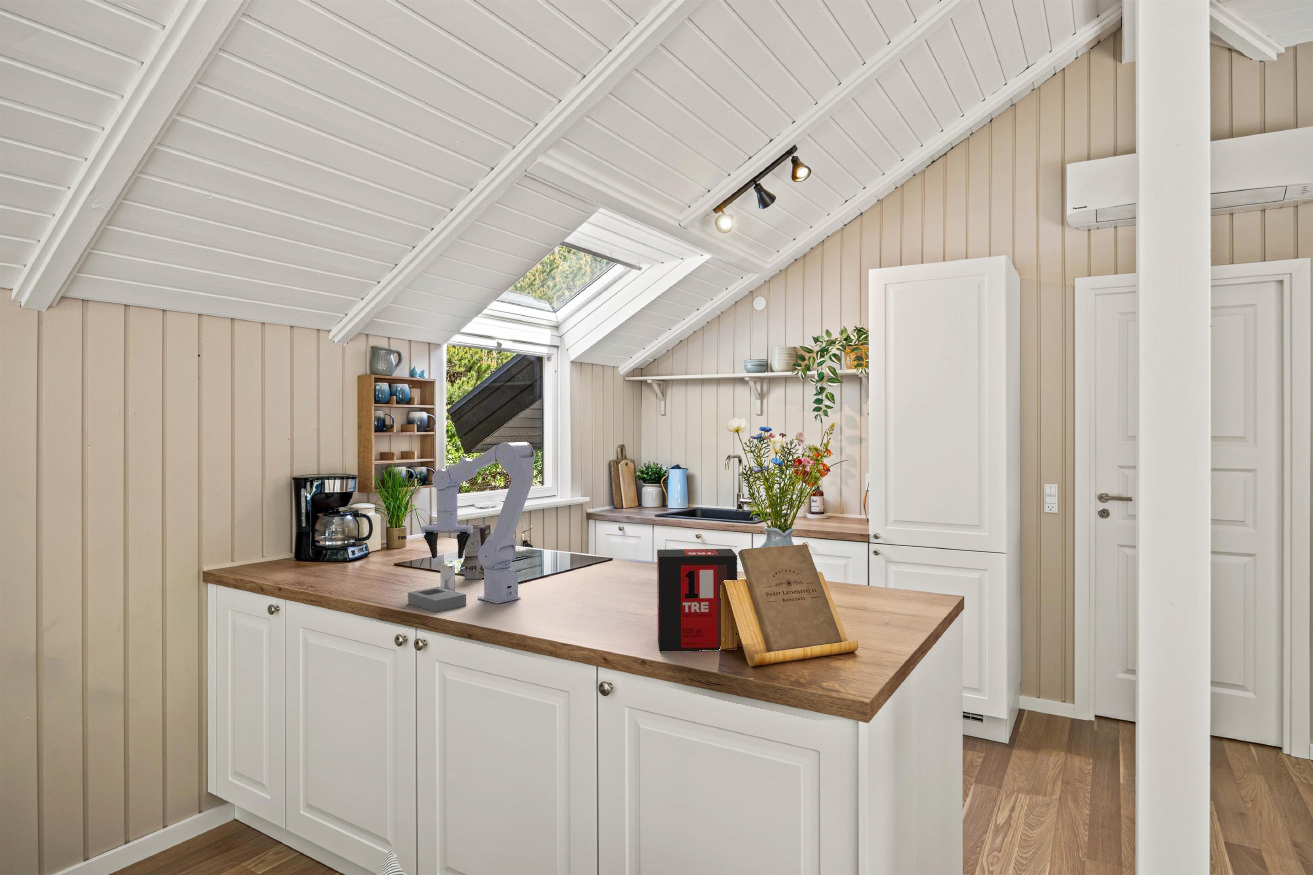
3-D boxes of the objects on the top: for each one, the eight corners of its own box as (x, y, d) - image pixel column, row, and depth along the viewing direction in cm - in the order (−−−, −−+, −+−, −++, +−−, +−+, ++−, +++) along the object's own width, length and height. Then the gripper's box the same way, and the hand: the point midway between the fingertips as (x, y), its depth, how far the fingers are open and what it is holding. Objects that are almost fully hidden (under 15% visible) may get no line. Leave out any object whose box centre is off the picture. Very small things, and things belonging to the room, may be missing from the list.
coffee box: (484, 579, 220) (483, 527, 220) (464, 579, 220) (463, 528, 220) (491, 573, 229) (491, 524, 229) (472, 573, 229) (471, 524, 229)
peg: (457, 592, 202) (457, 564, 202) (445, 594, 199) (445, 566, 199) (450, 590, 205) (449, 563, 205) (437, 592, 202) (437, 565, 202)
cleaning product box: (659, 652, 147) (658, 556, 146) (657, 639, 155) (657, 549, 155) (737, 650, 147) (737, 555, 147) (731, 638, 156) (731, 548, 156)
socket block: (466, 605, 187) (466, 594, 187) (435, 612, 180) (435, 600, 180) (437, 597, 196) (437, 586, 196) (408, 603, 189) (407, 592, 189)
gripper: (476, 509, 205) (476, 555, 205) (427, 509, 206) (428, 555, 206) (468, 512, 198) (468, 560, 198) (418, 511, 199) (418, 559, 199)
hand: (447, 557), depth 202 cm, fingers open, 7 cm apart
